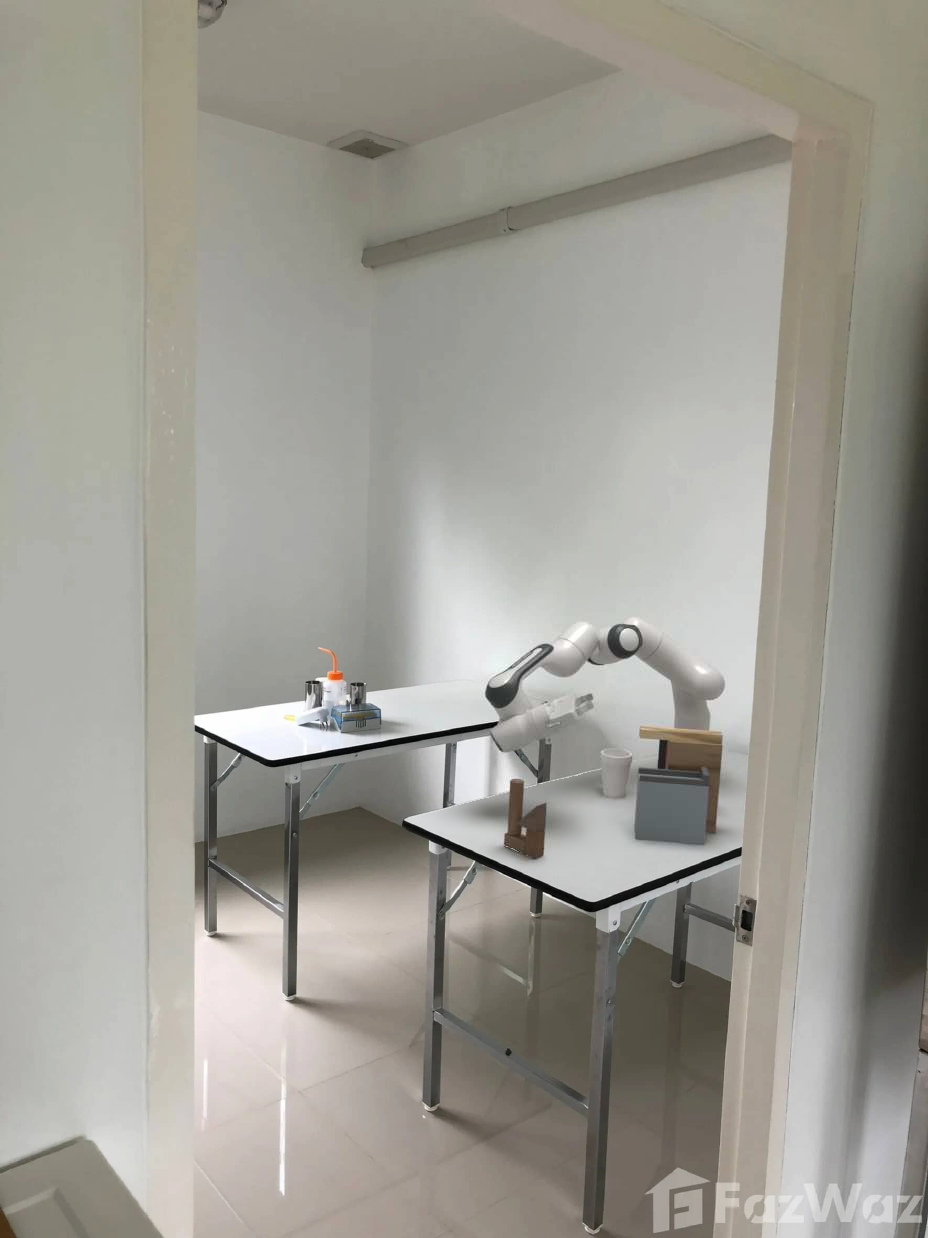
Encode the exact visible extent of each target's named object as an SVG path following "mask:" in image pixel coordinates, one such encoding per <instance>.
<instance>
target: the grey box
mask: <svg viewBox="0 0 928 1238" xmlns="http://www.w3.org/2000/svg"><path fill="white" fill-rule="evenodd" d="M637 771H638V772H637V782H636V786H637V787H636V796H635V811H634V813H635V814H634V824H633V825H634V828H633V829H634V836H635V839H636V840H642V841H643V840H644V841H657V842H666V843H678V844H679V843H681V844H690V845H692V844H693V845H703V846H704V845H705V839H706V838H705V837H706V833H705V829H706V817H707V804H708V792H709V778H710V775H709V773H708V770H707V767H701V769H700V772H694V771H681V770H668V769H657V768H656V767H655V768H654V767H653V768H652V767H639V766H638V770H637Z"/></svg>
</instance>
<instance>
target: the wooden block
mask: <svg viewBox="0 0 928 1238" xmlns="http://www.w3.org/2000/svg"><path fill="white" fill-rule="evenodd" d="M524 789H525V781H524V779H521V778H512V779H510V780H509V795H508V817H507V832H506V833H504V835H503V837H504V838H503V846H504V845H505V846H508V847H510V848H513V849H515V850H517V851H519V852H521V853H520V854H522V853H523V854H522V855H525V856H526V855H528V856H527V857H529V856H530V857H529V858H531V857H533V858H536V859H539V858H541V857H543V856H544V855H545V854H544V853H545V838H546V837H545V836H546V823H547V821H546V819H547V818H546V817H547V802H544V803H541V804H537V805H536V806H535V807H534V808H533V809H532V810H530V811H529V812H528V813H527V814H526V815H525V816H523V812H524ZM523 828H525V834H523V833H522V829H523ZM505 846H504V847H505ZM517 851H516V852H517ZM519 852H518V853H519ZM538 857H539V858H538ZM533 858H532V859H533Z"/></svg>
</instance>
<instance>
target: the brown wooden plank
mask: <svg viewBox="0 0 928 1238" xmlns="http://www.w3.org/2000/svg"><path fill="white" fill-rule="evenodd" d="M722 755H723V743H722V744H714V743H700V742H686V741H672V740H668V746H667V759H666V769H668V770H681V771H694V772H700V769H701V767H707V770H708V773H709V775H710V778H709V792H708V804H707V817H706V829H705V834H716V829H717V819H718V817H717V816H718V807H719V794H720V782H721V770H722V759H723V757H722Z"/></svg>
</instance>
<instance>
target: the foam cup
mask: <svg viewBox="0 0 928 1238" xmlns="http://www.w3.org/2000/svg"><path fill="white" fill-rule="evenodd" d="M599 756H600V757H599V759H600V764H601V777H602V779H601V782H602V791H603V792H602V794H603V795H604V796H605V797H607V798H613V799H615V798H616V799H619V798H623V797H624V796H625V794H626V790H627V789H626V788H627V785H628V780H629V776H630V775H629V774H630V770H631V766H632V763H633V753H632V752H631V751H629V750H627V749H622V748H605V749H604V748H603V749H602V750H601V751H600V755H599Z"/></svg>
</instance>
